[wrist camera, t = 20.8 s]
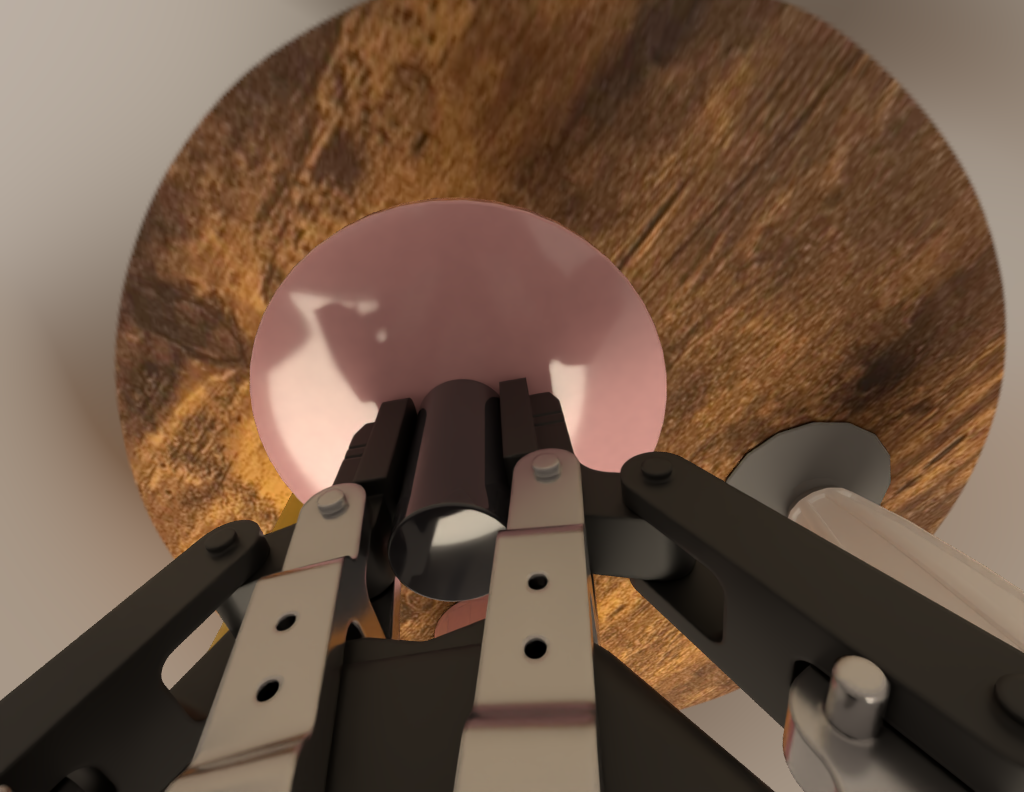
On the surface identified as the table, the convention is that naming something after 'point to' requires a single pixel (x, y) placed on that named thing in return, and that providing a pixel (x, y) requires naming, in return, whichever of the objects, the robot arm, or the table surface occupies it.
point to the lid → (452, 366)
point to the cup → (873, 520)
